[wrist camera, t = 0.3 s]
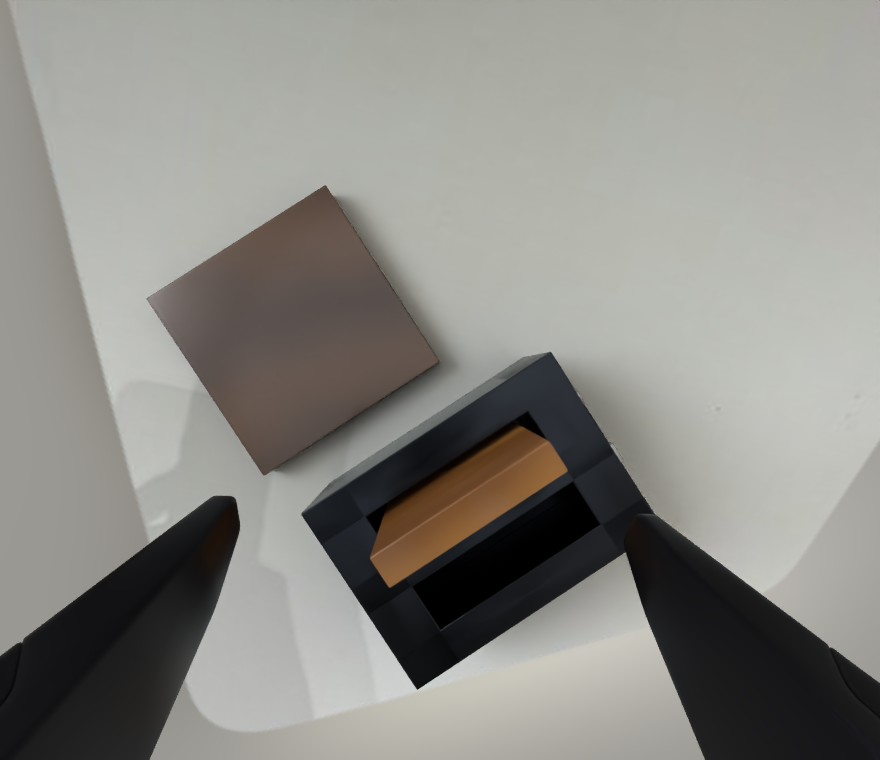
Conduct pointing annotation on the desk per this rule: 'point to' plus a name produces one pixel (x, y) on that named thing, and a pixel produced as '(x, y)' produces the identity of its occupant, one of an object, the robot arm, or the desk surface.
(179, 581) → the robot arm
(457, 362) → the desk surface
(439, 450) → the toaster
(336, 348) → the board
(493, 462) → the toast
